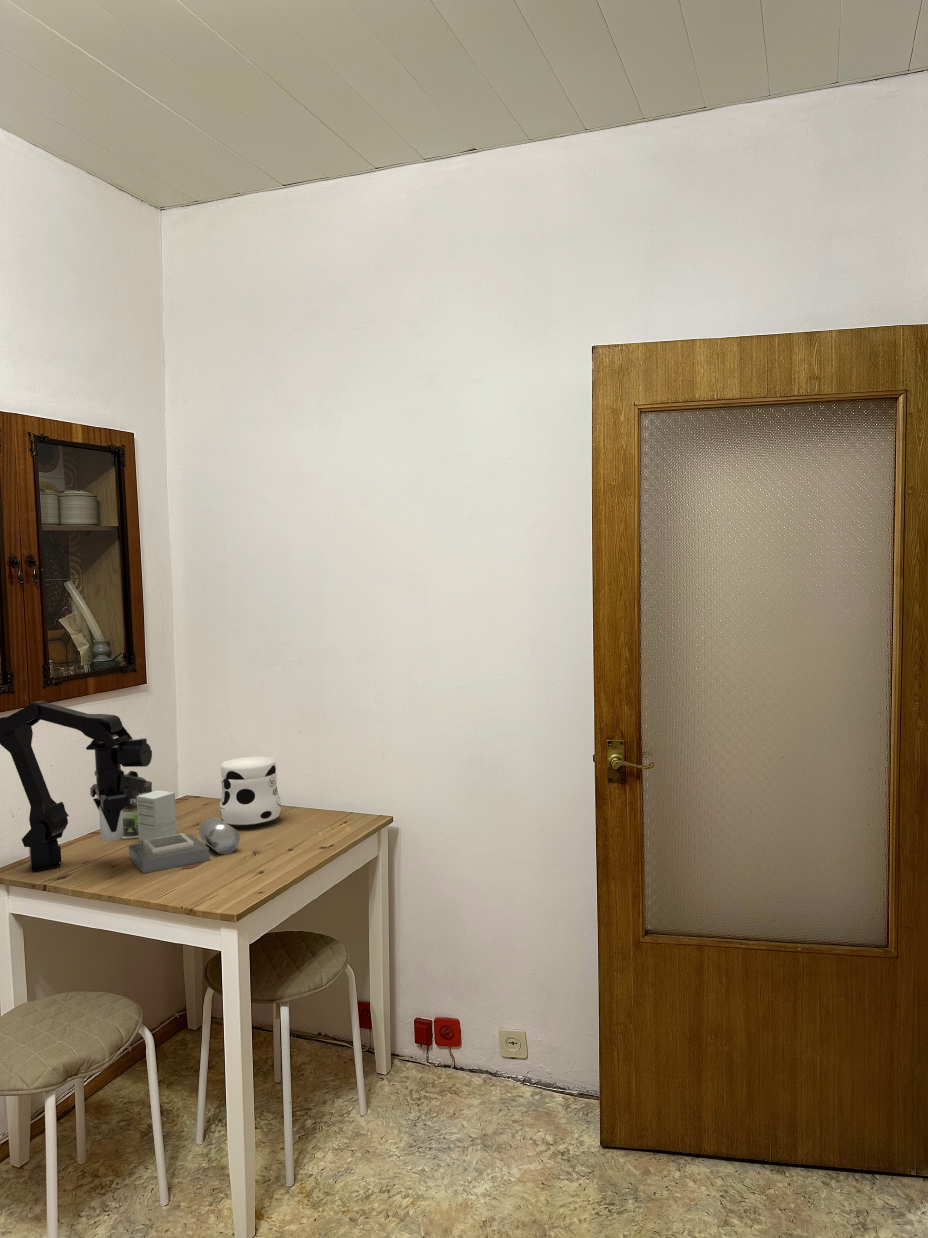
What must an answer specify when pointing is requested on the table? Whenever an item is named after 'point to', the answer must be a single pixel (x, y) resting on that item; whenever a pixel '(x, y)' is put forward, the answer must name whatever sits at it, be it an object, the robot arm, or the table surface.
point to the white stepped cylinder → (105, 829)
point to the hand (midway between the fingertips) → (111, 829)
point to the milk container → (249, 792)
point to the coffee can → (133, 813)
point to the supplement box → (156, 815)
